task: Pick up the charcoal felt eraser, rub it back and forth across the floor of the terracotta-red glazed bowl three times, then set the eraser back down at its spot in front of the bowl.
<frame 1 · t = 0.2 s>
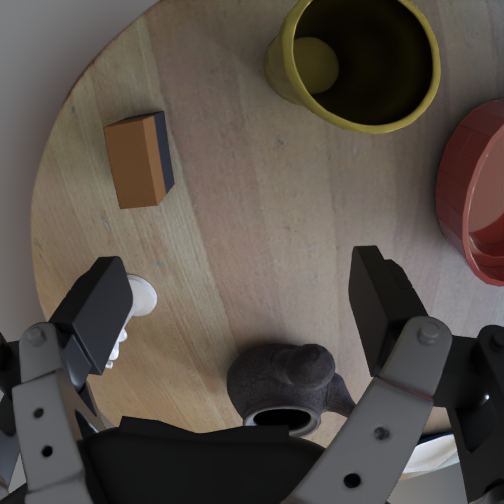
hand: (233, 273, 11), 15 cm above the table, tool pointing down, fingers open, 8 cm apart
chess piece: (135, 292, 31), on the table
vase: (307, 66, 20), on the table
eraser: (151, 150, 23), on the table
plate: (425, 448, 53), on the table
teapot: (294, 352, 35), on the table
red bowl: (498, 181, 23), on the table
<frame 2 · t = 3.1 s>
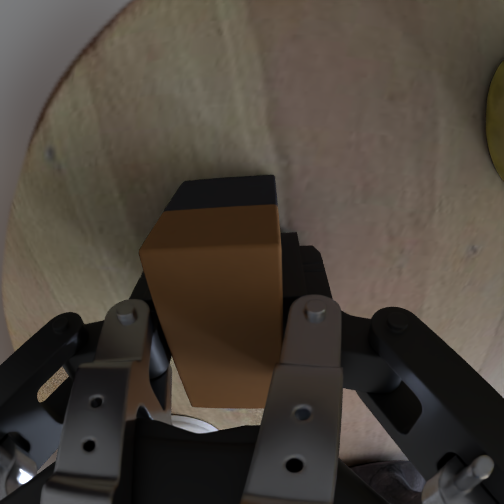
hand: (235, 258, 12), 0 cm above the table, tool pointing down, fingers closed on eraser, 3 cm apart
chess piece: (186, 429, 19), on the table
eraser: (236, 256, 12), on the table, touching gripper
teapot: (383, 460, 23), on the table
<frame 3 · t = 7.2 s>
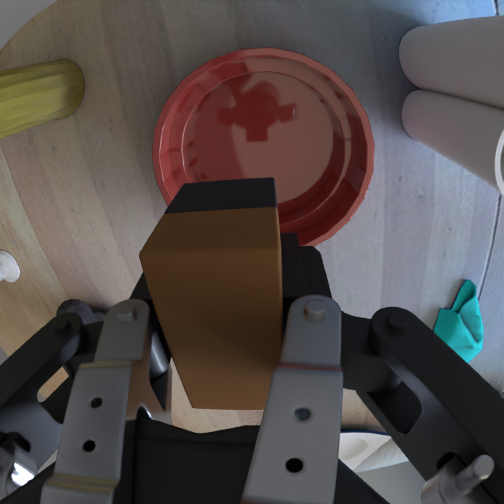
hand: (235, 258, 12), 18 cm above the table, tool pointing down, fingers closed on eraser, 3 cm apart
chess piece: (8, 264, 35), on the table
vase: (61, 88, 24), on the table
eraser: (236, 257, 12), point 18 cm above the table, touching gripper
plate: (331, 445, 57), on the table
vase 2: (432, 84, 23), on the table
teapot: (118, 318, 39), on the table
cloth: (449, 348, 41), on the table
red bowl: (263, 144, 27), on the table
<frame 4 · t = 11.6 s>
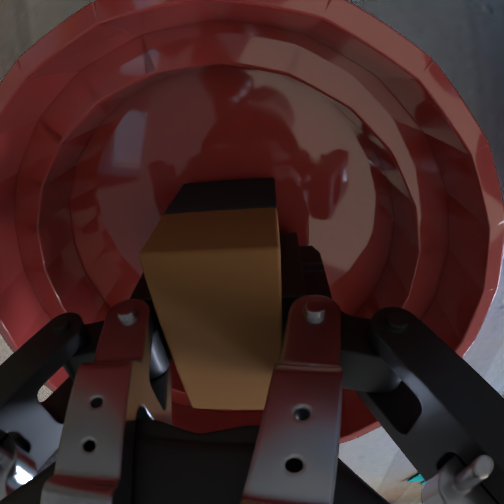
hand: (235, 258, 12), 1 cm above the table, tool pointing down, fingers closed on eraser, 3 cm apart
eraser: (236, 258, 12), point 1 cm above the table, touching gripper
red bowl: (226, 237, 13), on the table
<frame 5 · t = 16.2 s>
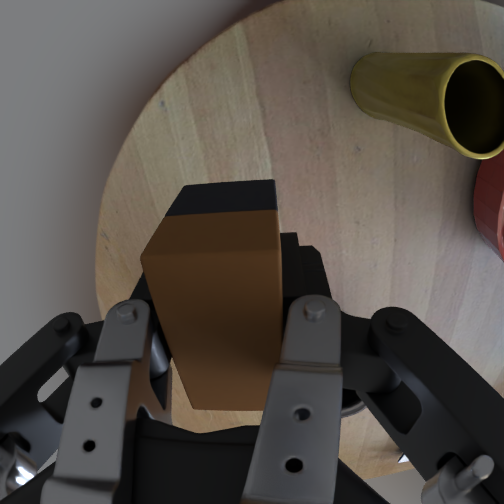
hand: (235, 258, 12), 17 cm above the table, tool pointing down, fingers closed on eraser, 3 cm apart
vase: (382, 85, 23), on the table
eraser: (237, 259, 12), point 17 cm above the table, touching gripper
teapot: (347, 335, 38), on the table
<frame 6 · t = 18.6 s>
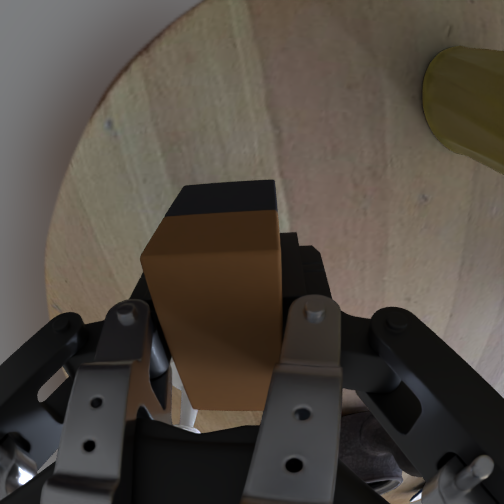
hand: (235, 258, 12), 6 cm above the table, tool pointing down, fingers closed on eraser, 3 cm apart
chess piece: (196, 369, 24), on the table
vase: (464, 100, 13), on the table
eraser: (237, 259, 12), point 5 cm above the table, touching gripper
teapot: (373, 413, 28), on the table
when the fingers open (0 cm above the table, at t = 20.2 s): eraser stays where it is, on the table.
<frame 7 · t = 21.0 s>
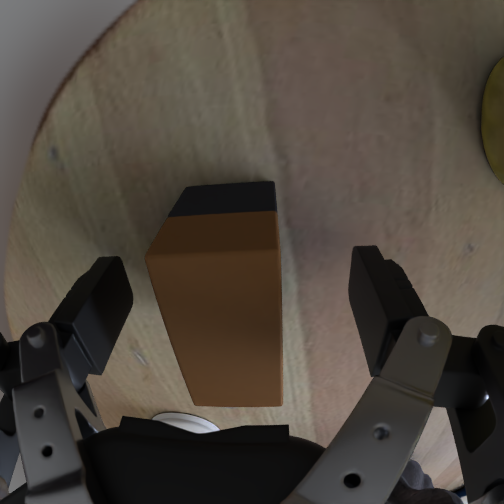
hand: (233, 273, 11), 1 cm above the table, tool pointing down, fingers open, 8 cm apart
chess piece: (186, 427, 20), on the table
eraser: (237, 259, 12), on the table
plate: (465, 490, 41), on the table
teapot: (382, 459, 23), on the table
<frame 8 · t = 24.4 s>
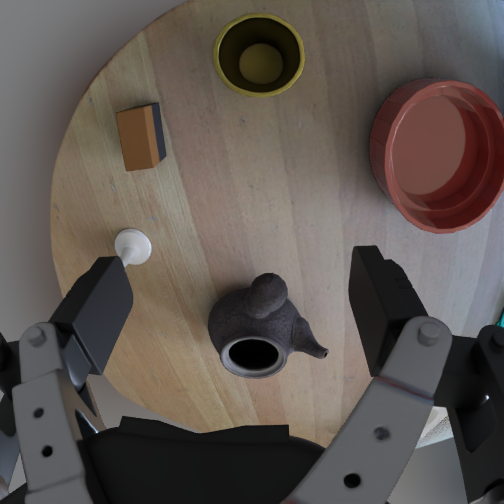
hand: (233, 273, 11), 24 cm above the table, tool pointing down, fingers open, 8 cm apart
chess piece: (133, 245, 39), on the table
vase: (261, 64, 28), on the table
eraser: (149, 131, 31), on the table
plate: (406, 417, 60), on the table
teapot: (265, 298, 42), on the table
red bowl: (432, 147, 31), on the table
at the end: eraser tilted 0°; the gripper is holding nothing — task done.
